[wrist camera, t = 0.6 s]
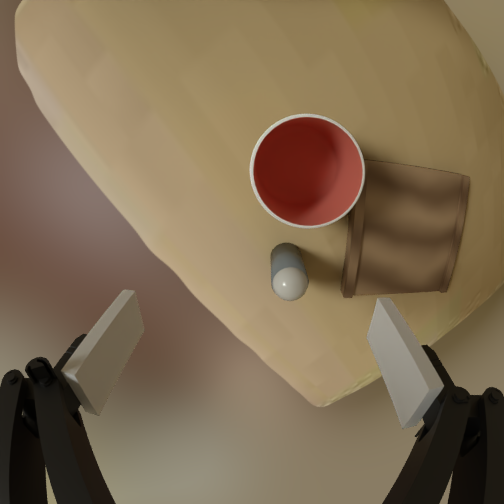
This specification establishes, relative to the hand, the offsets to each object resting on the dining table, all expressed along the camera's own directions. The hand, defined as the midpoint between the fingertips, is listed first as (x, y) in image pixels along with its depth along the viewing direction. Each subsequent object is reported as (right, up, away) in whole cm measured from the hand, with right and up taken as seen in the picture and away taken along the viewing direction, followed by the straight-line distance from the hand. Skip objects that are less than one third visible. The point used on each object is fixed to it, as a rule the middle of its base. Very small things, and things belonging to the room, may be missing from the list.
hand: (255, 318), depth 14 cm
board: (+21, +6, +19) cm, 29 cm away
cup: (+5, +14, +17) cm, 23 cm away
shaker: (+4, +3, +22) cm, 22 cm away
